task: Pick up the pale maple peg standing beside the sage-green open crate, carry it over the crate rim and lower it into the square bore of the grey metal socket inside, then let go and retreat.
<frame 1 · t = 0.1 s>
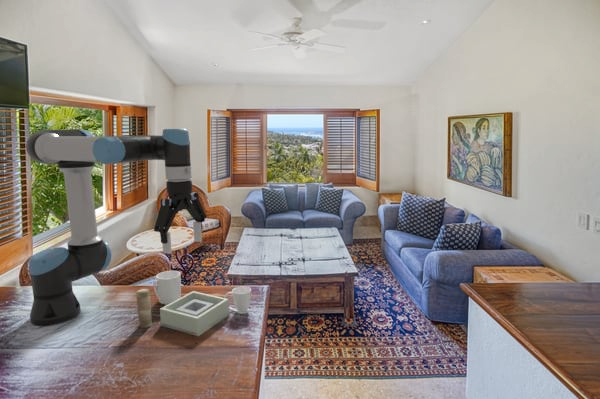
hand: (183, 247, 124), 28 cm above the table, fingers open, 13 cm apart
cup: (238, 311, 142), on the table
mug: (168, 301, 150), on the table
crate: (196, 320, 135), on the table
peg: (145, 325, 132), on the table
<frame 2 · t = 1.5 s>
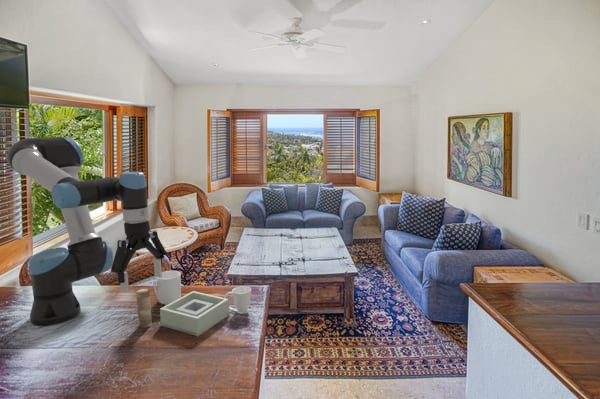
hand: (142, 284, 129), 15 cm above the table, fingers open, 13 cm apart
nothing on the table moved.
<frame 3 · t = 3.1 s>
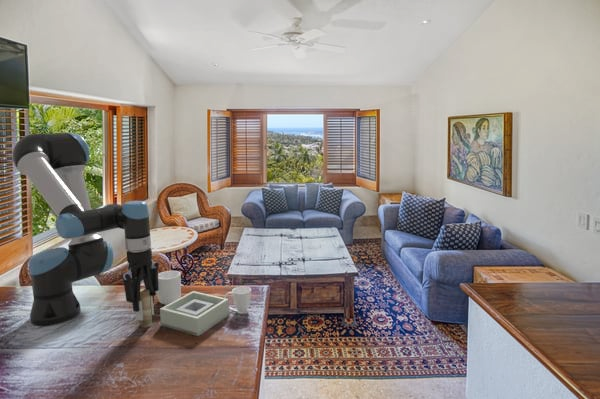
hand: (144, 316, 132), 3 cm above the table, fingers closed on peg, 4 cm apart
peg: (145, 324, 132), on the table, touching gripper
everything else where it was.
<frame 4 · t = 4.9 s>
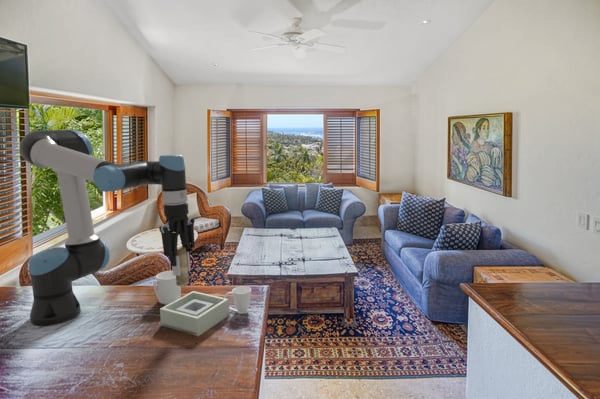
hand: (181, 272, 131), 18 cm above the table, fingers closed on peg, 4 cm apart
peg: (182, 283, 131), point 14 cm above the table, touching gripper
everything else where it was.
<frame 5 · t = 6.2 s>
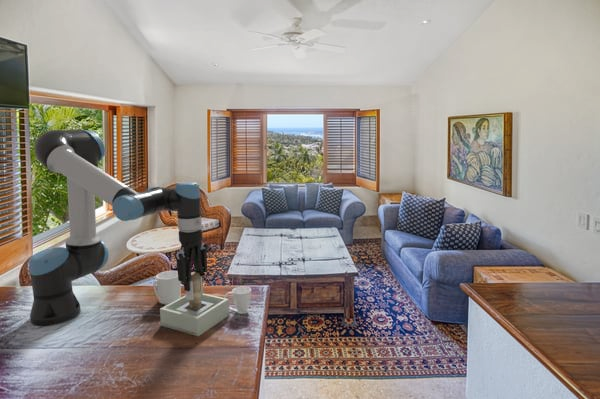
hand: (194, 296, 134), 9 cm above the table, fingers closed on peg, 4 cm apart
peg: (195, 307, 134), point 4 cm above the table, touching gripper
everything else where it was.
when the fingers open (6 cm above the table, at t = 7.0 s): peg stays where it is, resting on crate.
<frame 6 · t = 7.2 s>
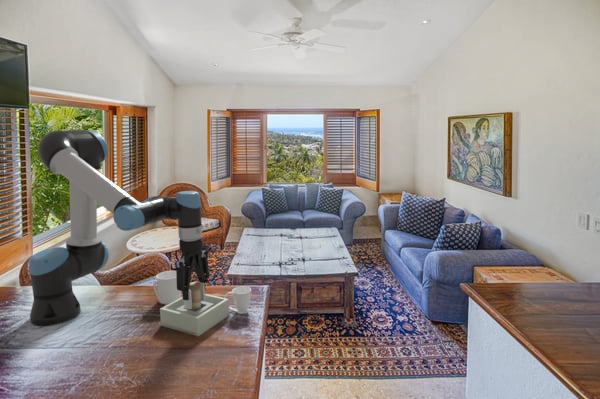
hand: (195, 304, 134), 6 cm above the table, fingers open, 6 cm apart
peg: (196, 317, 135), point 1 cm above the table, touching crate
everything else where it was.
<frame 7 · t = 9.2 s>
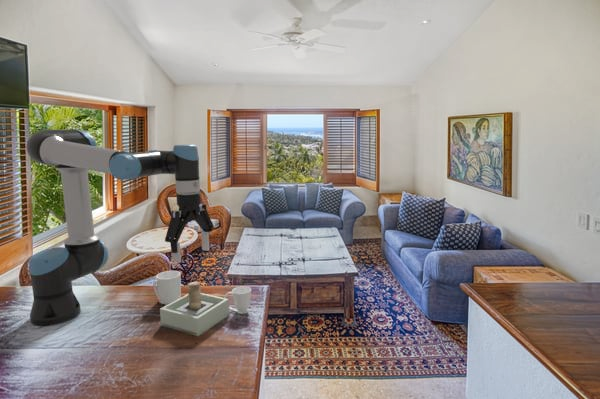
hand: (192, 255, 132), 23 cm above the table, fingers open, 13 cm apart
nothing on the table moved.
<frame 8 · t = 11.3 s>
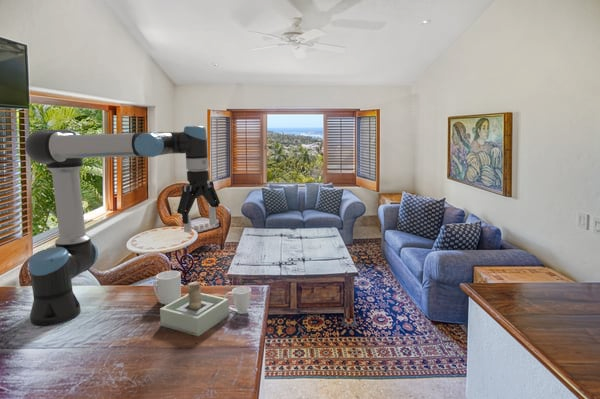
hand: (200, 228, 145), 29 cm above the table, fingers open, 13 cm apart
nothing on the table moved.
at the end: peg 0.0 cm off-centre on the crate, point 1.0 cm above the crate's base; peg tilted 0°; the gripper is holding nothing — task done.
